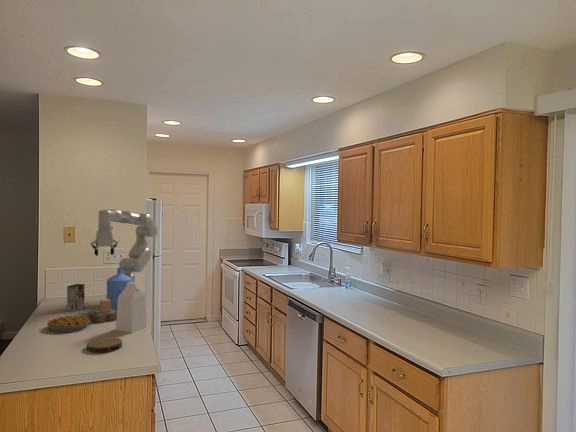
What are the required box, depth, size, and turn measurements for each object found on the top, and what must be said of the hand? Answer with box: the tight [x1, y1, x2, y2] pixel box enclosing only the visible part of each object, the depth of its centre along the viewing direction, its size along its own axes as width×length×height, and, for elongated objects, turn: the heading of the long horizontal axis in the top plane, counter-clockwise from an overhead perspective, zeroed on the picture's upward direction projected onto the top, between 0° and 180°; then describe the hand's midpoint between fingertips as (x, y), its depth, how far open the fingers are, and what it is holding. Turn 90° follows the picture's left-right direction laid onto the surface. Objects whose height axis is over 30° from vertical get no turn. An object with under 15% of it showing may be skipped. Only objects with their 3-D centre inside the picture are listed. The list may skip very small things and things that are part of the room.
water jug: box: [106, 267, 132, 309], centre depth 288 cm, size 16×16×28 cm
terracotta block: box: [99, 298, 111, 313], centre depth 267 cm, size 5×5×7 cm
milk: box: [115, 282, 148, 334], centre depth 248 cm, size 12×12×26 cm
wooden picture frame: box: [87, 308, 117, 324], centre depth 268 cm, size 16×14×4 cm
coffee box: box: [66, 283, 85, 312], centre depth 288 cm, size 9×6×16 cm
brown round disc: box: [86, 336, 123, 354], centre depth 216 cm, size 16×16×3 cm
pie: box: [46, 315, 91, 333], centre depth 248 cm, size 22×22×5 cm
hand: (104, 255), depth 287 cm, fingers open, 9 cm apart
